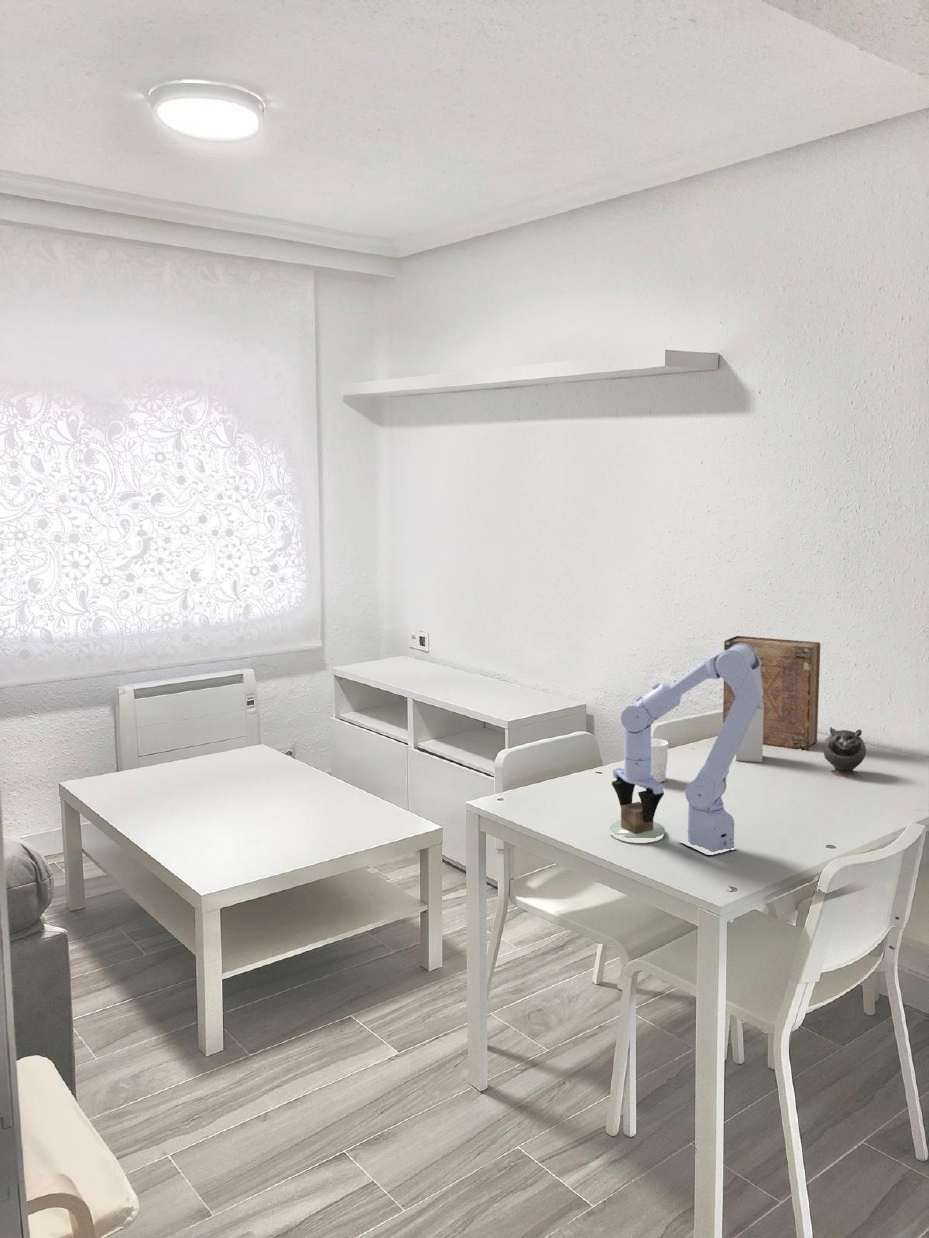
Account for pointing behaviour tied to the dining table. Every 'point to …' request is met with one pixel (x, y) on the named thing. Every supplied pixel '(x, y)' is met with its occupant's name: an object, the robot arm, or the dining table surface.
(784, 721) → the book
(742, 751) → the milk carton
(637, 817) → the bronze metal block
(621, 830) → the pale green domed disc
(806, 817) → the dining table surface
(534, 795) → the dining table surface
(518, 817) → the dining table surface
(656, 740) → the white cup
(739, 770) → the dining table surface
